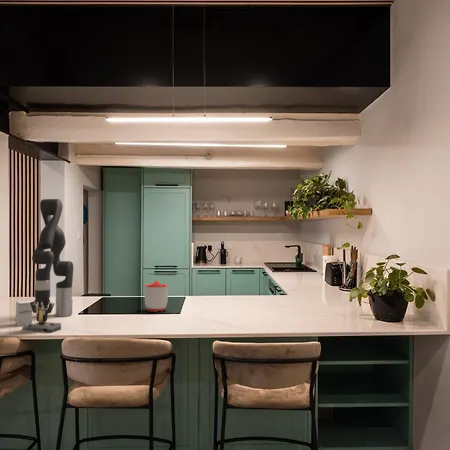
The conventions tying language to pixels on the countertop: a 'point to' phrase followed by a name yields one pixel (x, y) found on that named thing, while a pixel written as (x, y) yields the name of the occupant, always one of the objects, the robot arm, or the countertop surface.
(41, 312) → the pin
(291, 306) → the countertop surface
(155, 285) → the citrus juicer
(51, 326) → the chain end upper
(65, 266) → the robot arm
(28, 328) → the chain end lower
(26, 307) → the supplement box
